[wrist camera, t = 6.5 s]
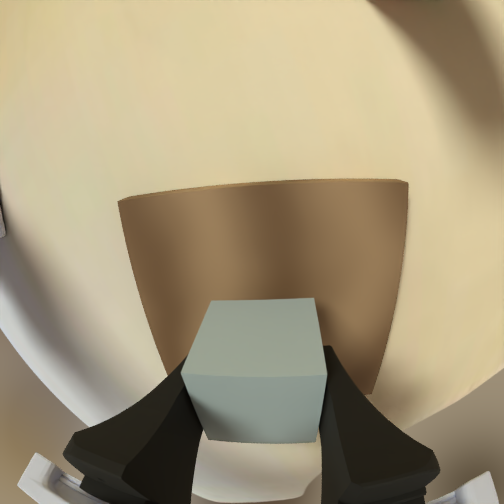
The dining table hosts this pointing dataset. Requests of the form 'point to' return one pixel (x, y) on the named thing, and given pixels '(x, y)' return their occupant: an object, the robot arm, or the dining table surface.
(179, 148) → the dining table surface
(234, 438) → the slate cube
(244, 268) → the walnut board
